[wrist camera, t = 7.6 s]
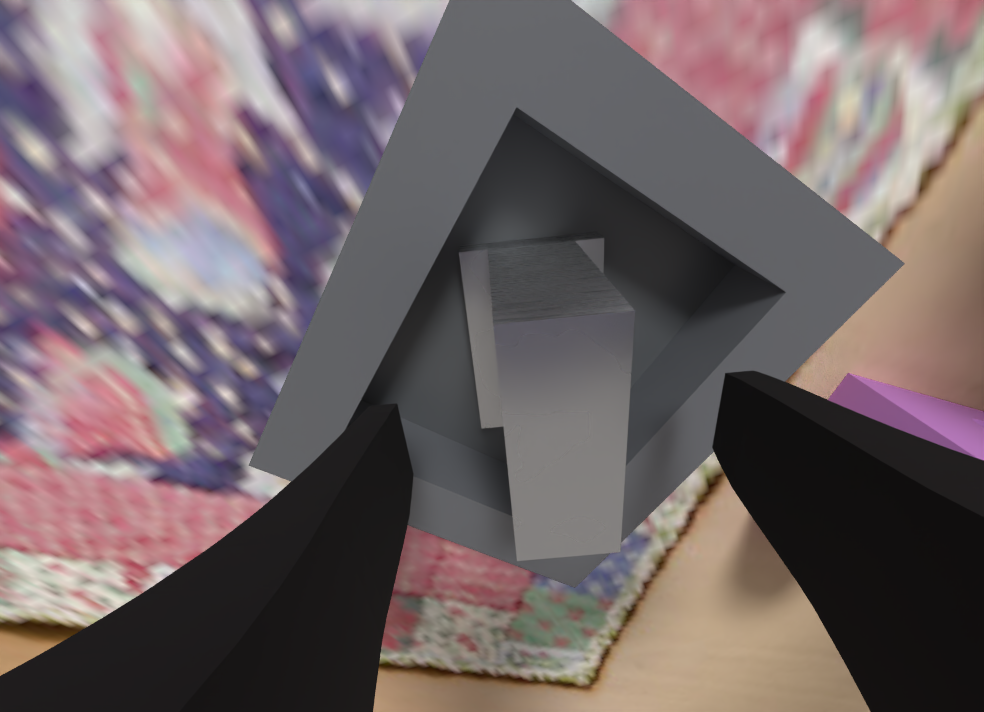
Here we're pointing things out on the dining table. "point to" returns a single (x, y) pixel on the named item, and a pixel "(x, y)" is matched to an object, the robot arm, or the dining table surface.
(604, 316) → the grey block
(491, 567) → the dining table surface
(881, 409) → the bracket
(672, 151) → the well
